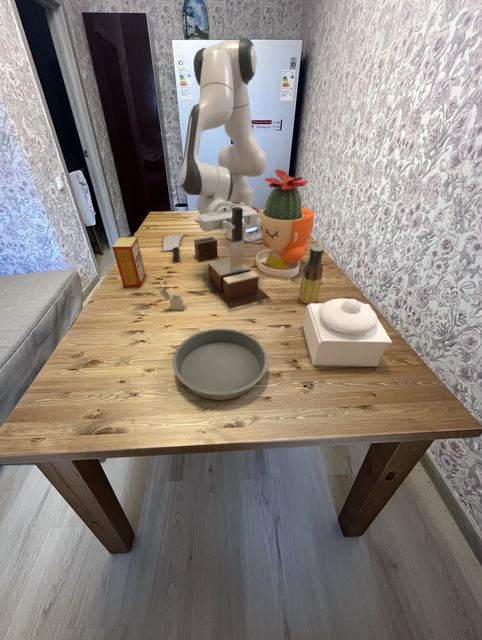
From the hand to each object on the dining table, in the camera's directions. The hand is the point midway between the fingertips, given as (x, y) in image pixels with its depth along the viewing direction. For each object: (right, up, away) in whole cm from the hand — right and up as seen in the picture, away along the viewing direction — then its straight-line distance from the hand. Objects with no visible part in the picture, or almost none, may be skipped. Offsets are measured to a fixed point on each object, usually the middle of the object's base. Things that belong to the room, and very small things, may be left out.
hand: (238, 226), depth 90 cm
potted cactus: (+19, -3, +33) cm, 38 cm away
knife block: (-13, +3, +39) cm, 42 cm away
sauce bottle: (+25, -23, +11) cm, 35 cm away
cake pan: (-5, -45, -14) cm, 47 cm away
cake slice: (+1, -18, +14) cm, 23 cm away
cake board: (-1, -16, +18) cm, 24 cm away
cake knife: (0, -12, +12) cm, 17 cm away
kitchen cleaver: (-31, +10, +47) cm, 57 cm away
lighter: (-22, -25, +8) cm, 35 cm away
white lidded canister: (+29, -38, -7) cm, 48 cm away
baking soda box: (-41, -12, +23) cm, 48 cm away
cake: (-3, -13, +21) cm, 25 cm away
